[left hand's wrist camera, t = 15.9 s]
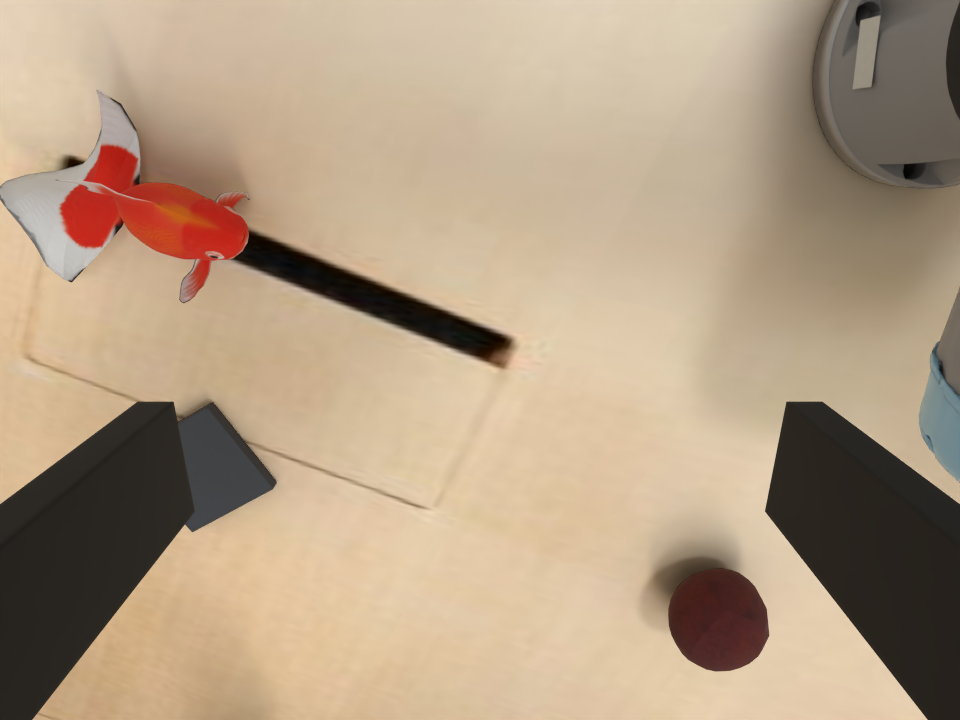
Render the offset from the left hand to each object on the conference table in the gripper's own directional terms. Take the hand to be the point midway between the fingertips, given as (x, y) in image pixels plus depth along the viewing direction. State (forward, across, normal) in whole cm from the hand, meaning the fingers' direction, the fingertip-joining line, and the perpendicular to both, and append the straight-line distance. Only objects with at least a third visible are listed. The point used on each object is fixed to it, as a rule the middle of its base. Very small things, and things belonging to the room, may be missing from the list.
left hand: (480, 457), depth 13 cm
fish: (+29, -21, +3) cm, 36 cm away
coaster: (+29, -21, -17) cm, 40 cm away
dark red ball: (+29, +19, -28) cm, 44 cm away
